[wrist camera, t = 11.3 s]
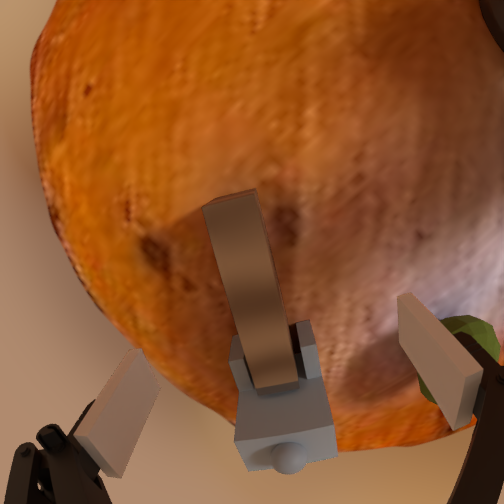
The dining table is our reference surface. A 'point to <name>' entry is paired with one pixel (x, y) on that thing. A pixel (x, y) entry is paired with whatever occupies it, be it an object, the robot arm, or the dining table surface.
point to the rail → (252, 289)
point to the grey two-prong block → (284, 414)
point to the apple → (477, 330)
